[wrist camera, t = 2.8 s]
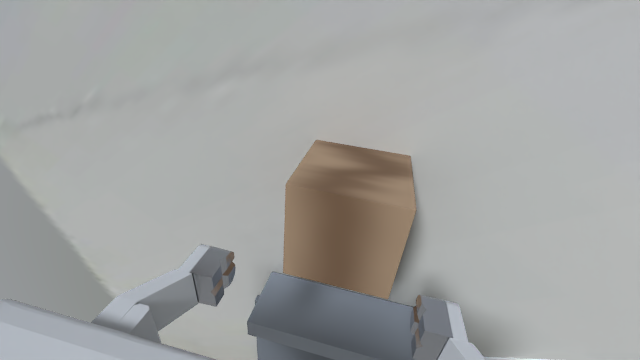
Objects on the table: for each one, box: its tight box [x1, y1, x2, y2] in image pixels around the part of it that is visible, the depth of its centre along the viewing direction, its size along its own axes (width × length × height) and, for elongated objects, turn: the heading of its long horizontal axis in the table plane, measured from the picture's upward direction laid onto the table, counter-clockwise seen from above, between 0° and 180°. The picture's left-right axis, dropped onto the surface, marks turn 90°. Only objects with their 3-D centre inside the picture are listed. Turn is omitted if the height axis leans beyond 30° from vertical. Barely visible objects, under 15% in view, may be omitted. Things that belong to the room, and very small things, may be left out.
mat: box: [255, 295, 334, 360], centre depth 29 cm, size 11×12×1 cm
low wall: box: [247, 272, 416, 360], centre depth 22 cm, size 16×2×5 cm, turn 85°
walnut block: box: [283, 140, 416, 299], centre depth 17 cm, size 6×6×6 cm
